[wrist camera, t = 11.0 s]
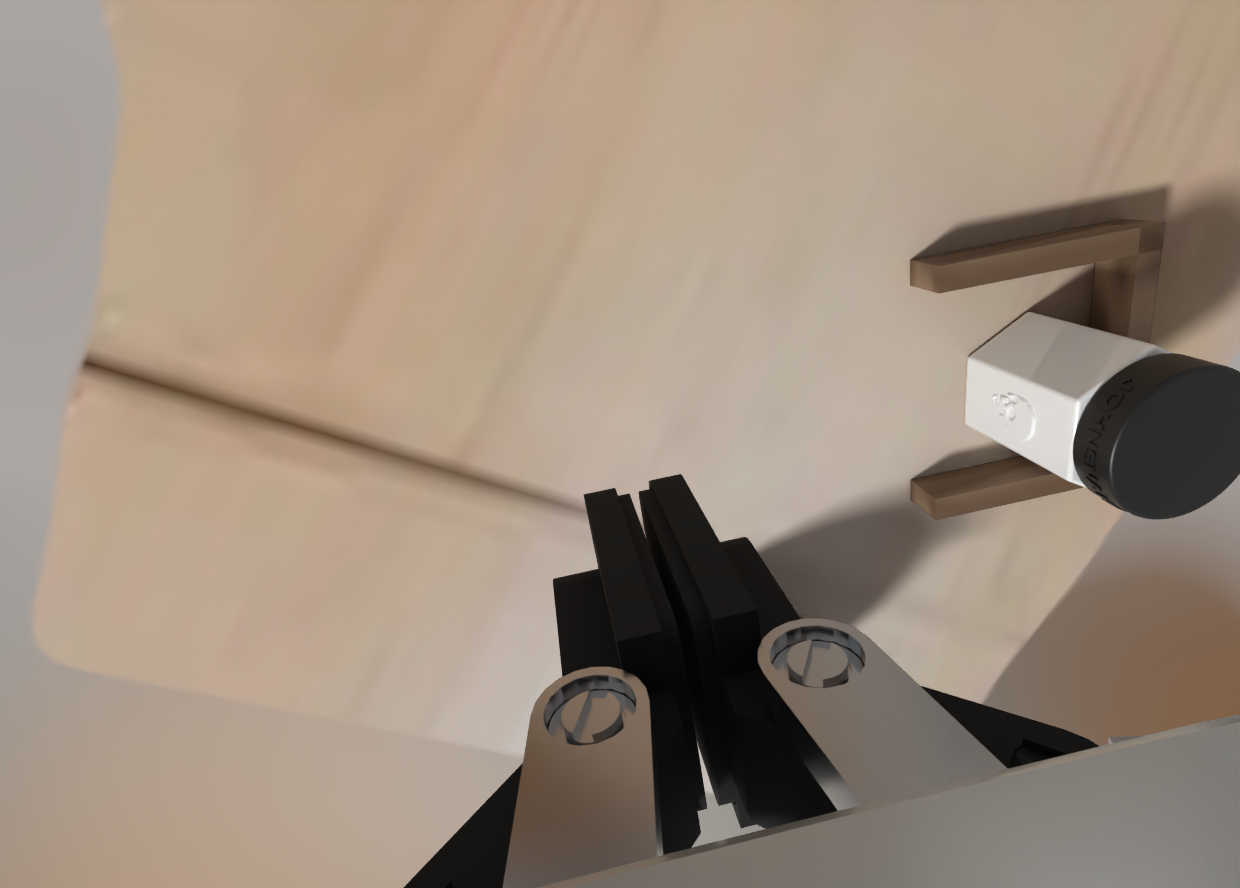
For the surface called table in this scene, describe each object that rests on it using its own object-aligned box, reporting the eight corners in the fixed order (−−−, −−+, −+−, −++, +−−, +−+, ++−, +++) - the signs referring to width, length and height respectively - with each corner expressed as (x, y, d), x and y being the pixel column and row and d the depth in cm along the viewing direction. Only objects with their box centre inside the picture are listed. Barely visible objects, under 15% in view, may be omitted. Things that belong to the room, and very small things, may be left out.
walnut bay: (910, 260, 41) (939, 266, 38) (1122, 219, 42) (1165, 222, 39) (910, 499, 47) (935, 520, 44) (1095, 459, 48) (1131, 476, 45)
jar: (963, 322, 43) (1121, 374, 32) (1086, 299, 43) (1282, 342, 32) (958, 454, 46) (1098, 543, 35) (1072, 431, 47) (1245, 511, 36)
